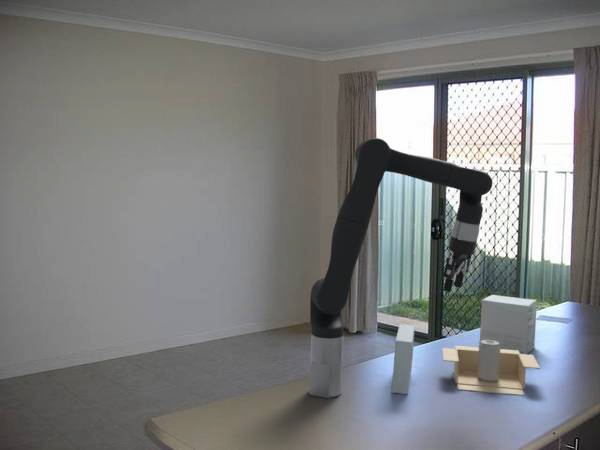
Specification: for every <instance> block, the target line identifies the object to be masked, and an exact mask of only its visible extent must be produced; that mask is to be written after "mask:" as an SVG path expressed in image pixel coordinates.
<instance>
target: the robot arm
mask: <svg viewBox="0 0 600 450" xmlns="http://www.w3.org/2000/svg"><path fill="white" fill-rule="evenodd" d="M354 158H355V161H356V163H357V166H356V170H355V174H354V177H353V182H352V185H351V187H350V189H349V190H348V193H347V194H346V196H345V198H344V200H343V202H342V204H341V206H340V208H339V211H338V213H337V217H336V220H335V223H334V226H333V230H332V231H333V232H332V233H331V234H332V235H331V242H330V243H331V245H330V258H329V263H328V268H327V270H326V273H325V276H324V277H322V278H320V279H318V280H317V281H316V282H315V283H314V284H313V285H312V287H311V290H310V291H311V292H310V300H309V301H310V302H309V303H310V304H309V305H310V306H309V308H310V309H309V316H310V317H309V318H310V321H309V322H310V326H311V337H310V339H311V340H310V342H311V343H310V345H311V346H310V366H309V368H310V371H309V372H310V373H309V395H310V396H313V397H314V396H315V397H320V398H325V399H330V398H335V397H339V396H340V395H341V394H342V385H343V384H342V381H343V379H342V378H343V351H344V323H343V320H342V310H343V309H344V308H345V306H346V305H347V302H348V300H349V299H348V298H349V294H350V289H351V284H352V280H353V274H354V270H355V267H356V264H357V262H358V260H359V256H360V253H361V250H362V247H363V244H364V241H365V238H366V235H367V232H368V229H369V226H370V222H371V217H372V214H373V211H374V206H375V202H376V198H377V194H378V191H379V187H380V186H381V183H382V180H383V178H384V175H385V173H386V172H389V173H395V174H399V175H402V176H407V177H411V178H414V179H417V180H421V181H424V182H427V183H430V184H433V185H437V186H441V187H445V188H452V189H456V190H458V191H459V205H458V209H457V212H456V216H455V220H454V224H453V226H452V230H451V235H450V239H449V244H448V250H449V251H451V252H452V256H451V257H449V256H447V258H446V263H445V266H444V270H443V274H442V278H445V281H444V285H443V291H444V292H447V293H450V292H452V290H453V286H454V287H456V288H459V289H460V288H462V287H463V283H464V278H465V276H466V274H468V273H469V269H470V264H471V260H472V256H473V255H475V250H476V247H477V242H478V237H479V233H480V225H481V220H482V216H483V211H484V208H483V205H482V198H483V197H482V196H484V195H486V194H488V193H489V192H490V191H491V190H492V187H493V180H492V179H493V178H492V177H491V176H490V174H488V173H487V172H485V171H483V170H481V169H478V168H468V167H463V166H460V165H458V164H456V163H453V162H450V161H446V160H442V159H437V158H433V157H429V156H422V155H415V154H410V153H407V152H403V151H399V150H396V149H393V148H391V147H390V146H389V144H388V142H386V141H385V140H384V139H382V138H378V137H372V138H369V139H366V140H363V141H362V142H360V143H359V145H358V146H357V147H356V149H355V152H354Z"/></svg>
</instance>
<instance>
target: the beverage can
mask: <svg viewBox="0 0 600 450" xmlns="http://www.w3.org/2000/svg"><path fill="white" fill-rule="evenodd" d="M479 343H480V342H479ZM479 343H478V344H479ZM478 347H479V356H478V373H477V376H478V378H480V380H482V381H485V382H495V381H496V380H498V378H499V362H500V346H499V342H497V341H494V340H481V343H480V344H479V345H478Z"/></svg>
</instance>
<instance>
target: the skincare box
mask: <svg viewBox="0 0 600 450" xmlns="http://www.w3.org/2000/svg"><path fill="white" fill-rule="evenodd" d="M414 340H415V325H411V324H410V325H409V324H402V323H399V325H398V330H397V334H396V338H395V342H394V343H395V344H394V357H393V368H392V380H391V381H392V382H391V390H390V391H391V392H390V393H393V394H402V395H408V394H409V389H410V383H411V382H410V381H411V376H412V374H411V373H412V368H413V367H412V366H413V355H414V343H415V341H414Z"/></svg>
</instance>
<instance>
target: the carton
mask: <svg viewBox="0 0 600 450" xmlns="http://www.w3.org/2000/svg"><path fill="white" fill-rule="evenodd" d="M478 356H479V346H478V347H476V346H466V345H464V346H463V345H454V348H449V347H448V348H447V347H442V361H443V362H450V363H451V362H454V363H453V365H454V366H453V375H454V385H455V386H457V390H458V391H469V392H478V393H489V394H501V395H509V396H511V395H512V396H521V397H522V396H524V397H525V393H524V391H525V389H526V388H525V386H526V371H527V370H526V369H538V370H539V369H541V367H540V366H539V364H538V362H537V360H536V357H535V356H534V354H520V353H519V351H518V350H506V349H500V362H499V378H498V380H496V381H495V382H485V381H482V380H480V378H478V376H477V373H478Z"/></svg>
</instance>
